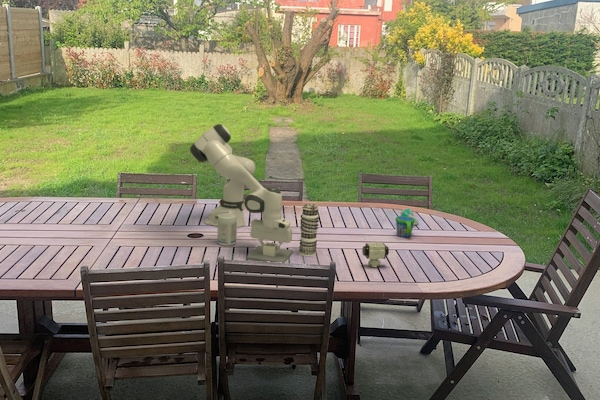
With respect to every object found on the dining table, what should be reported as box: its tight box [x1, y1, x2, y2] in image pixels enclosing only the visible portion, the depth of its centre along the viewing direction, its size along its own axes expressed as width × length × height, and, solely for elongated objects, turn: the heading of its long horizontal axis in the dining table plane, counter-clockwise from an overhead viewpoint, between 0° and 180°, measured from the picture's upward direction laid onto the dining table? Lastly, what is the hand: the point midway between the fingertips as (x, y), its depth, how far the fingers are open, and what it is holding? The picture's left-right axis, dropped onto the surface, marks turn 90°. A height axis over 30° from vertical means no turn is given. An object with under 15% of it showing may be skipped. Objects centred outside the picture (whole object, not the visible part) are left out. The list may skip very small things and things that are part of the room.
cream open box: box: [263, 241, 279, 256], centre depth 293 cm, size 6×6×5 cm
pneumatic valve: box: [361, 242, 390, 268], centre depth 286 cm, size 6×12×12 cm, turn 99°
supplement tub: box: [217, 213, 238, 247], centre depth 306 cm, size 10×10×15 cm
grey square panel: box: [246, 242, 294, 264], centre depth 292 cm, size 18×18×6 cm
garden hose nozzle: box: [400, 207, 419, 227], centre depth 361 cm, size 7×18×20 cm
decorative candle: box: [298, 203, 320, 257], centre depth 297 cm, size 9×9×25 cm
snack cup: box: [395, 215, 416, 238], centre depth 336 cm, size 16×10×10 cm
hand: (270, 248), depth 292 cm, fingers open, 6 cm apart
